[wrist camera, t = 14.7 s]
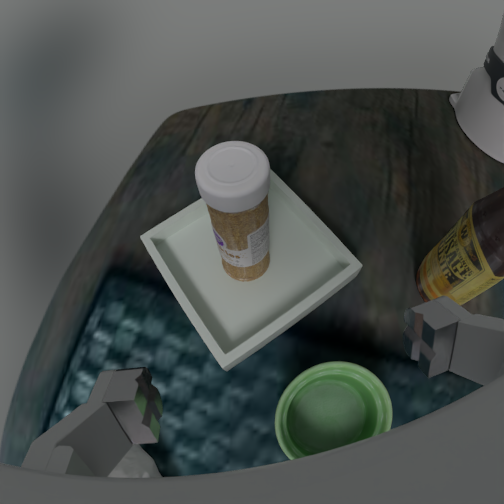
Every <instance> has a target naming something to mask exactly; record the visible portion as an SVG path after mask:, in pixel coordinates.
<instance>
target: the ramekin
mask: <svg viewBox="0 0 504 504" xmlns="http://www.w3.org/2000/svg"><path fill="white" fill-rule="evenodd" d="M391 423H392V404H391V400H390V397H389V394H388V392H387V390H386V388H385V386H384V385H383V383H382V382H381V381H380V380H379V378H378V377H377V376H376V375H374V374H373V373H372V372H371V371H369V370H368V369H366V368H364V367H362V366H360V365H357V364H354V363H350V362H343V361H332V362H325V363H321V364H318V365H315V366H313V367H311V368H309V369H307V370H305V371H304V372H302V373H301V374H299V375H298V376H297V377H296V378H295V379H294V380H293V381H292V382H291V383H290V384H289V385H288V386H287V388H286V389H285V391H284V392H283V394H282V396H281V398H280V400H279V402H278V405H277V409H276V414H275V431H276V436H277V439H278V442H279V444H280V446H281V448H282V450H283V451H284V453H285V454H286V455H287V457H288V458H289V459H290V460H293V459H298V458H302V457H306V456H310V455H314V454H318V453H321V452H325V451H329V450H332V449H335V448H339V447H342V446H345V445H349V444H352V443H355V442H358V441H361V440H364V439H367V438H370V437H373V436H375V435H378V434H381V433H384V432H386V431H389V430H390V428H391Z"/></svg>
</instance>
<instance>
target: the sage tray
mask: <svg viewBox="0 0 504 504" xmlns="http://www.w3.org/2000/svg"><path fill="white" fill-rule="evenodd" d="M268 206H269V254H270V263H269V267H268V269H267V271H266V272H265V273H264V274H263V275H262V276H261V277H259V278H258V279H255V280H252V281H244V282H242V281H238V280H236V279H233V278H231V277H230V276H229V275H228V274H227V273H226V272H225V270H224V268H223V265H222V257H221V254H220V252H219V249H218V246H217V242H216V238H215V235H214V232H213V228H212V225H211V218H210V215H209V212H208V208H207V205H206V202H205V201H204V200H203V199H202V198H201V199H199V200H198V201H196V202H194V203H193V204H191V205H189V206H188V207H186V208H185V209H183V210H181V211H180V212H178V213H176V214H175V215H173V216H172V217H170V218H168V219H167V220H165V221H164V222H162V223H160V224H159V225H157V226H156V227H154V228H152V229H151V230H149V231H148V232H146V233H145V234H143V235H141V236H140V238H141V240H142V241H143V243H144V245H145V247H146V248H147V250H148V252H149V254H150V255H151V257H152V259H153V260H154V262H155V264H156V266H157V267H158V269H159V271H160V272H161V274H162V276H163V277H164V279H165V281H166V282H167V284H168V286H169V287H170V289H171V290H172V292H173V294H174V295H175V297H176V299H177V300H178V302H179V303H180V305H181V307H182V308H183V310H184V311H185V313H186V314H187V316H188V318H189V319H190V321H191V322H192V324H193V325H194V327H195V328H196V330H197V331H198V333H199V334H200V336H201V337H202V339H203V341H204V342H205V343H206V345H207V346H208V348H209V349H210V351H211V352H212V354H213V355H214V357H215V358H216V360H217V361H218V363H219V364H220V366H221V367H222V368H223V369H224V370H225V371H228V370H229V369H231V368H232V367H234V366H235V365H237V364H238V363H240V362H241V361H243V360H244V359H246V358H247V357H249V356H250V355H252V354H253V353H254V352H256V351H257V350H259V349H260V348H262V347H263V346H265V345H266V344H267V343H269V342H270V341H272V340H273V339H274V338H276V337H277V336H279V335H280V334H281V333H283V332H284V331H286V330H287V329H288V328H290V327H291V326H292V325H294V324H295V323H297V322H298V321H299V320H301V319H302V318H303V317H305V316H306V315H307V314H309V313H310V312H311V311H313V310H314V309H315V308H317V307H318V306H319V305H321V304H322V303H323V302H324V301H326V300H327V299H328V298H330V297H331V296H332V295H334V294H335V293H336V292H337V291H339V290H340V289H341V288H342V287H344V286H345V285H346V284H348V283H349V282H350V281H351V280H353V279H354V278H355V277H356V276H357V275H358V273H359V271H360V270H361V268H362V266H363V265H362V264H361V263H360V262H359V261H358V260H357V259H356V258H355V256H354V255H353V254H352V253H351V252H350V251H349V250H348V249H347V248H346V247H345V245H344V244H343V243H342V242H341V241H340V240H339V239H338V238H337V237H336V236H335V235H334V234H333V232H332V231H331V230H330V229H329V228H328V227H327V226H326V225H325V224H324V223H323V222H322V221H321V220H320V219H319V218H318V217H317V216H316V215H315V213H314V212H313V211H312V210H311V209H310V208H309V207H308V206H307V205H306V204H305V203H304V202H303V201H302V200H301V199H300V198H299V197H298V196H297V195H296V194H295V193H294V192H293V191H292V190H291V189H290V188H289V187H288V186H287V185H286V184H285V183H284V182H283V181H282V180H281V179H280V178H279V177H278V176H277V175H276V174H275V173H274V172H273V171H272V170H271V169H270V188H269V192H268Z"/></svg>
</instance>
